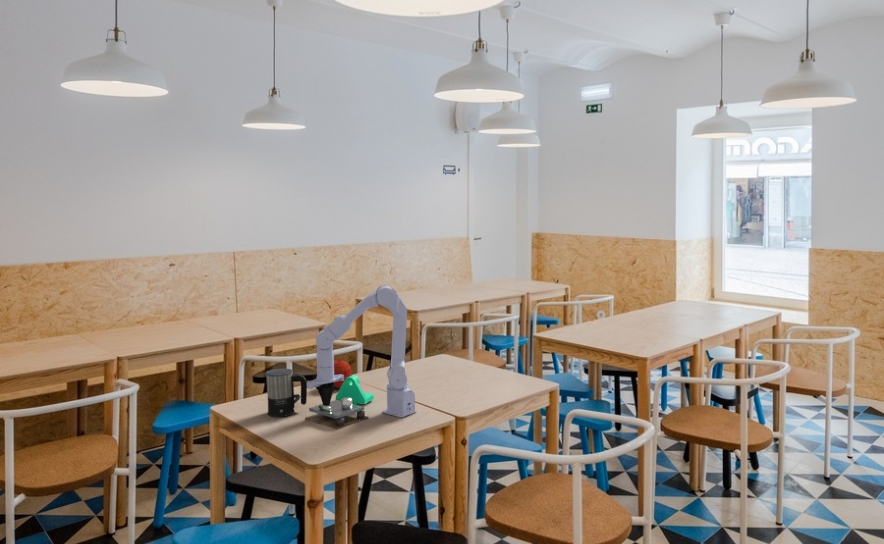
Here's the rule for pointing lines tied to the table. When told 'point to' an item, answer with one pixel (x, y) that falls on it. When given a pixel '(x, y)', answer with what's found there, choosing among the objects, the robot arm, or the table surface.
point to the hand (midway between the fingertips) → (326, 405)
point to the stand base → (333, 421)
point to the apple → (341, 371)
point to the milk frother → (284, 392)
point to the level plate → (337, 408)
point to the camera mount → (353, 391)
